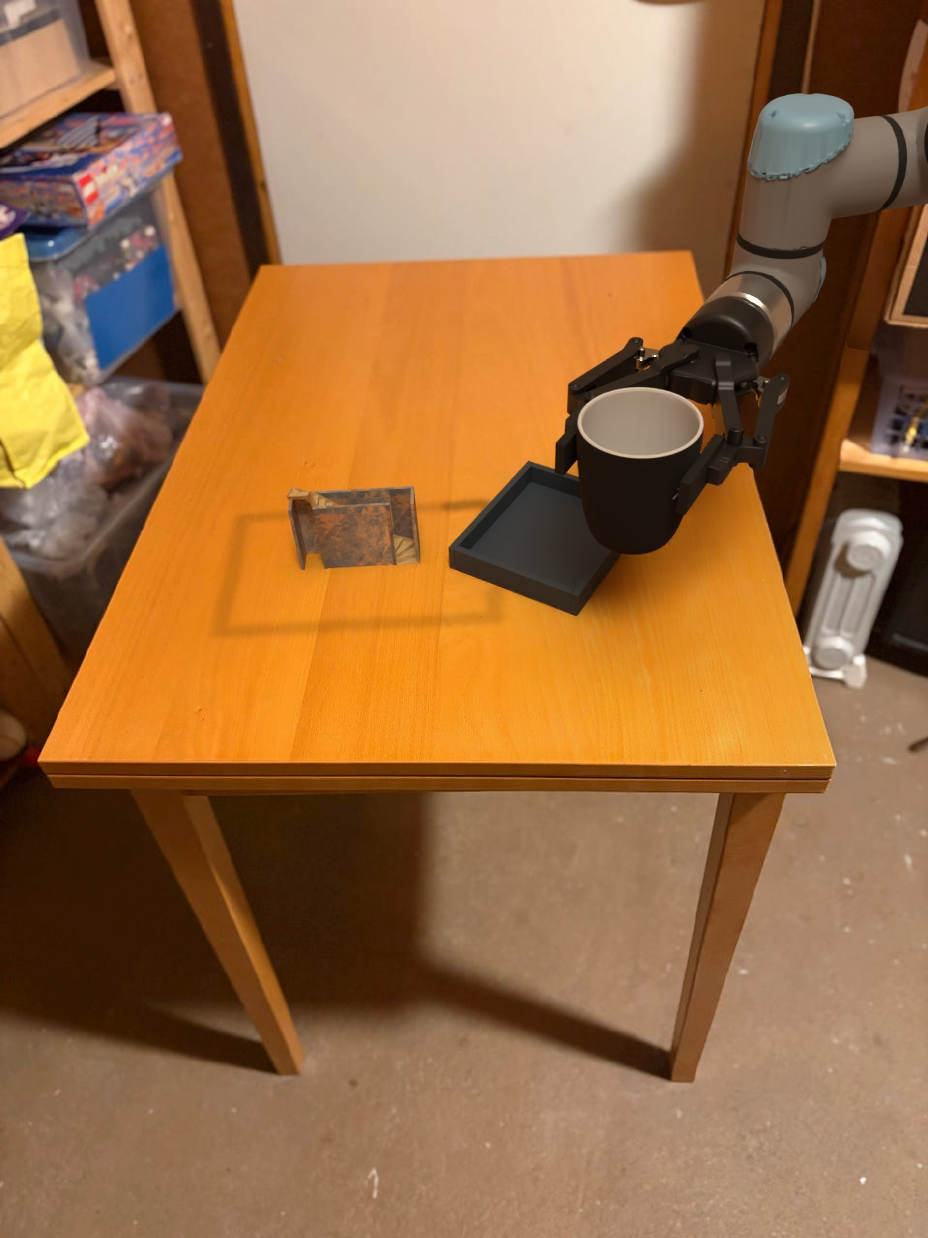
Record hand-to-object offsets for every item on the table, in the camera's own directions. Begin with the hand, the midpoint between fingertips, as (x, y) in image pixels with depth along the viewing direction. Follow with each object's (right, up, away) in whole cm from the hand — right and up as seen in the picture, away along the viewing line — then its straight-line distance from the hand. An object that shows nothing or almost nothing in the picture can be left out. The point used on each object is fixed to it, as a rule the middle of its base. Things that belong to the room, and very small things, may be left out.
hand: (619, 478), depth 67 cm
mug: (+3, -2, +8) cm, 9 cm away
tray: (-3, -3, +23) cm, 23 cm away
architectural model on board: (-21, -5, +23) cm, 32 cm away
